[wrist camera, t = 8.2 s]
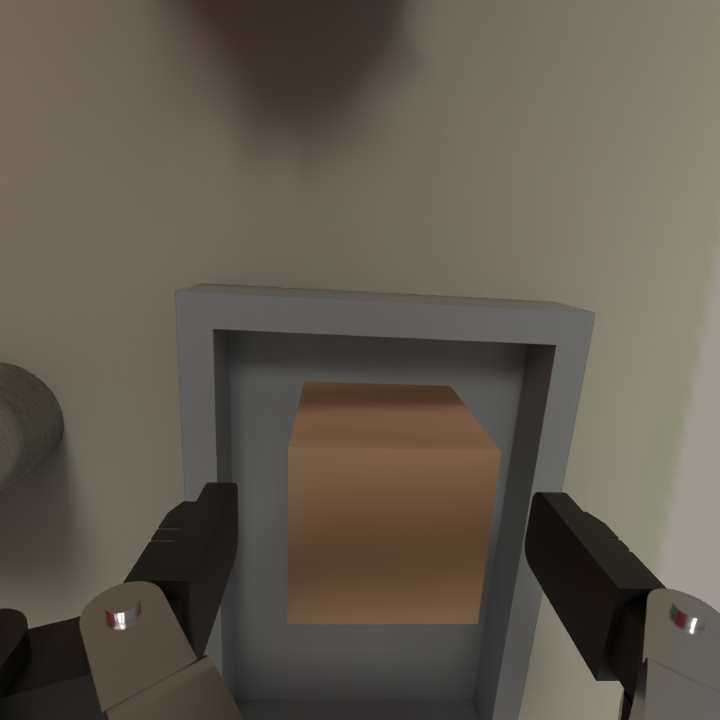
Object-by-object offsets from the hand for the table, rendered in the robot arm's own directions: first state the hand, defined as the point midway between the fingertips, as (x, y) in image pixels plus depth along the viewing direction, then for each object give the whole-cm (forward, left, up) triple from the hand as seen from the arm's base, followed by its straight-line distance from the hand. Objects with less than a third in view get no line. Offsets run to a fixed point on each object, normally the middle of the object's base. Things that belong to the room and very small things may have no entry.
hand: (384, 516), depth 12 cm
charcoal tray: (+4, 0, -5) cm, 6 cm away
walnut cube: (0, 0, -4) cm, 4 cm away
